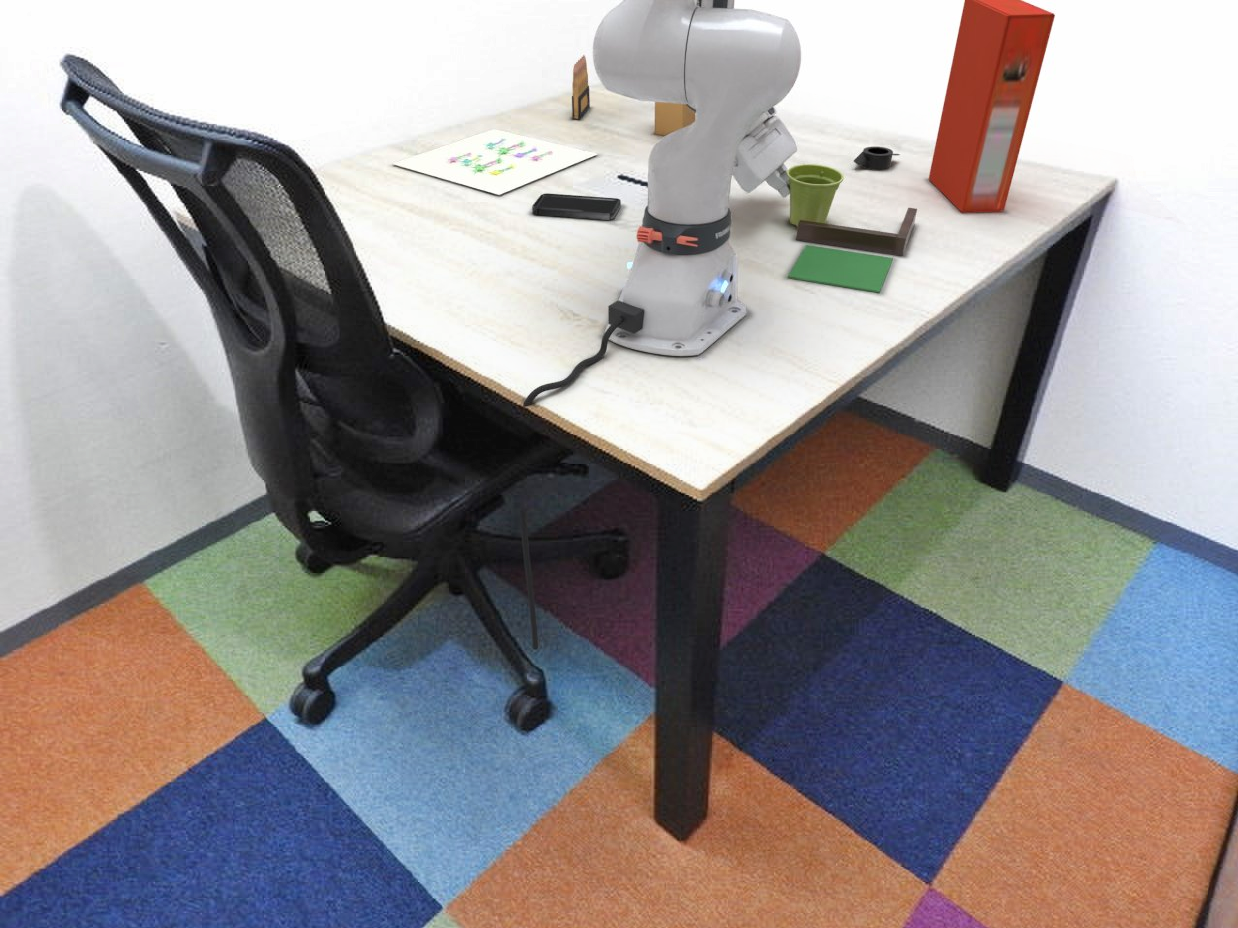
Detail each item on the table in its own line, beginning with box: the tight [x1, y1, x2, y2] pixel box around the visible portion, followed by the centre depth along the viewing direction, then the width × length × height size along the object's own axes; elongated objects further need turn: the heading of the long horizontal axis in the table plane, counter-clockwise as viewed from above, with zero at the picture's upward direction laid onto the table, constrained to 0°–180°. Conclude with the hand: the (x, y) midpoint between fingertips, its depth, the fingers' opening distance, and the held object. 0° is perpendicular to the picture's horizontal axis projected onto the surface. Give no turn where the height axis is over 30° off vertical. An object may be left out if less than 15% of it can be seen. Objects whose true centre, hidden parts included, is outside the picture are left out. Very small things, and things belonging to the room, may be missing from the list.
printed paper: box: [392, 128, 598, 196], centre depth 178 cm, size 30×30×2 cm
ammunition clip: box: [571, 54, 591, 121], centre depth 203 cm, size 11×2×12 cm, turn 169°
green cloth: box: [787, 244, 893, 294], centre depth 136 cm, size 13×14×1 cm
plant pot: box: [787, 163, 845, 228], centre depth 148 cm, size 9×9×9 cm
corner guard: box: [795, 207, 918, 257], centre depth 147 cm, size 14×18×3 cm
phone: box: [531, 192, 622, 221], centre depth 156 cm, size 8×1×15 cm
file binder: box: [928, 0, 1056, 214], centre depth 152 cm, size 8×17×32 cm, turn 3°
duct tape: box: [853, 146, 901, 171], centre depth 175 cm, size 8×10×3 cm
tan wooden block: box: [653, 0, 735, 137], centre depth 181 cm, size 23×23×42 cm
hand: (790, 193), depth 150 cm, fingers closed, pressing on plant pot
